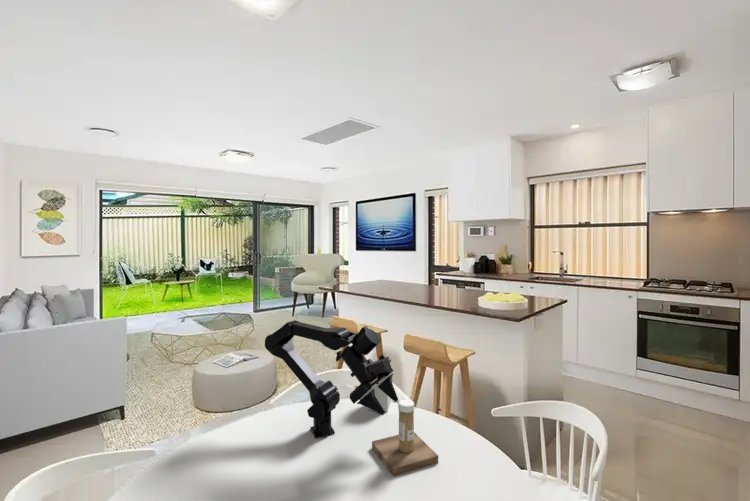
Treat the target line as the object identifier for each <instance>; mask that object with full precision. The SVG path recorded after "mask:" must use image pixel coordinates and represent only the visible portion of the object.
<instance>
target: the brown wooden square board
mask: <svg viewBox="0 0 750 501" xmlns="http://www.w3.org/2000/svg"><path fill="white" fill-rule="evenodd" d="M371 448H372V450H373V451H374V453H375V454H376V455H377V457H378V458H379V459H380V461H381V463H383V465H384V466H385V467H386V469H387V470H388V471H389V473H390V474H391V475H392V477H395V476H398V475H402V474H405V473H409V472H412V471H415V470H419V469H421V468H422V469H423V468H425V467H429V466H432V465H436V464H438V463H439V455H438V454H437V453H436V452H435V451H434V449H432V448H431V447H430V446H429V445H428V444H427V443H426V442H425V441H424V440H423V439H422V438H421V437H420V436H419V435H418V434H417V433H416V432H415V431H414V450H413V451H412V452H408V453H405V452H402V451H401V450H399V434H395V435H393V436H387V437H384V438H380V439H376V440H372V441H371Z"/></svg>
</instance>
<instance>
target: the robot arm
mask: <svg viewBox="0 0 750 501" xmlns="http://www.w3.org/2000/svg"><path fill="white" fill-rule="evenodd" d="M295 336H296V337H301V338H305V339H307V340H308V339H309V340H312V341H315V342H319V343H321V344H322V345H323V346H324V347H325V348H328V349H330V350H331V351H337V352H336V357H335V362H337V363H338V362H339V361H341V360H343V362H344V363H345V364H346V366H347V367H348V368H349V370H350V371H351V373H350V376H351V377H352V378H353V377H355V378H356V379H357V381H358V382H359V385H358V386H357V387H356V388H355V389H353V390H352V391H351V392H350V393H349V400H350V401H351V402H352V403H353V405H354V404H355V403H356V405H361V406H364V407H366V408H367V409H368V408H370V409H372V410H371V411H373V410H374V411H373V412H375V413H378V414H379V415H381V416H384V415H385V414H386V412H385V411H384V409H383V408H382V406H381V405H380V403H379V401H378V400H377V398H376V397H375V389H373V390H371V389H372V386H374V385H375V384H380V385H379V386H377V387H378V388H379V389H380V390H382V391H383V392H384V393H385V394H386V395H388V396H389V397H390V400H392V401H394V402H396V403H397V402H399V397H398V395H397V393H396V390H395V387H394V385H393V376H394V373H393V372H394V368H392V365H391V362H392V359H391V358H390V357H389V356H388V355H387V354H386V353H382V354H380V355H379V357H378V359H377V360H375V361H373V359H371V358H368V359H367V358H366V357H365V356H368V355H369V354H370V353H371V352H372V351H373V350H374V349H375V348H376V347H378V345H379V344H380V343H381V337H380V335H379V334H378V333H377V332H376V331H375V330H373V329H371V328H369V327H368V326H367V325H364V326H363V327H362V328H360V329H359V331H358V332H357V333H355V332H352V331H349V329H347V327H338V326H337V327H323V326H318V325H314V324H310V323H305V322H302V321H299V320H297V319H296V320H294V319H293V320H291V321H287V322H286V323H285V324H283V325H282V326H281V327H280V328H279V329H278V330H275V331H274V332H273V333H271V334H268V335H267V336H266V337H265V338H264V348H265V349H266V350H267V351H268V352H269V353H270V354H271V355H272V356H274V357H277V358H279V359H281V360H282V361H283V362H284V363H285V364H286V365H287V367H288V368H289V369H290V370H291V371H292V373H293V374H294V375H295V376H296V377H297V378H298V380H299V381H300V382H301V383H302V385H303V386H304V387H305V389H307V391H308V392H309V397H310V398H309V399H310V402H311V404H312V405H311V406H310V407H309V408H307V411H306V412H307V415H308V417H309V418H312V419H313V426H310V430H311V433H312V435H313V438H315V439H317V438H322V437H325V436H330V435H334V434H335V433H336V432H335V430H334V428H333V426H332V411H333V410H335V409H336V407H337V405H338V404H339V403H340V400H341V397H340V396H341V394H340V392H339V391H338V387H336V386H335V385H334V384H333V382H332V381H331V380H327V381H323V380H322V379H320V378H319V376H318V375H317V374H316V373H315V372H314V370H312V368H311V367H310V366H309V365H308V363H307V362H306V361H305V360H304V359H303V358H302V356H301V355H300V354H299V353H298V352H297V351H296V349H295V346H294V341H293V338H294V337H295ZM351 344H352V345H351ZM342 348H344V349H343V350H340V349H342ZM338 350H339V351H338ZM389 374H390V375H389ZM369 382H370V383H369Z"/></svg>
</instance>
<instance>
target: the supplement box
mask: <svg viewBox="0 0 750 501" xmlns="http://www.w3.org/2000/svg"><path fill="white" fill-rule="evenodd" d="M389 375H391V374H389ZM369 383H370V382H369ZM379 385H380V384H375V385H374V386H372V389H371V390H373V389H375V397H376V398H377V400H378V401H379V403H380V405H381V406H382V408H383V409H384V411H385V413H387V412H388V410H389V408H390V404H391V398H390V397H389V396H388V395H386V394H385V393H384V392H383V391H382V390H380V389H379V388H378V387H377V386H379ZM367 409H368V411H373V412H375V411H374V410H372V409H370V408H368V407H367Z"/></svg>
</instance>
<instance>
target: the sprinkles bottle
mask: <svg viewBox="0 0 750 501" xmlns="http://www.w3.org/2000/svg"><path fill="white" fill-rule="evenodd" d="M397 408H398V409H397V410H398V435H399V450H401V451H402V452H405V453H408V452H412V451H413V450H414V432H415V421H414V419H415V418H414V417H415V416H414V415H415V413H414V412H415V402H414V401H412V400H410V399H401V400H398V405H397Z"/></svg>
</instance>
